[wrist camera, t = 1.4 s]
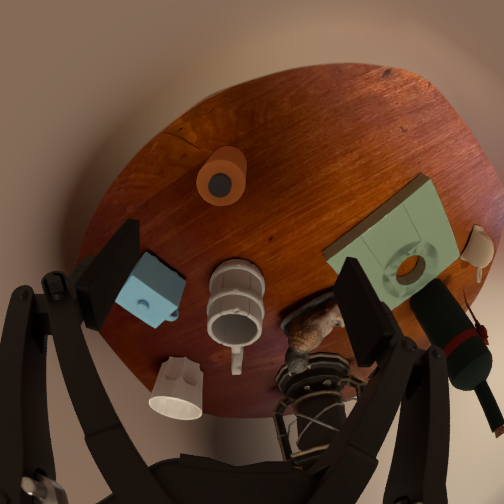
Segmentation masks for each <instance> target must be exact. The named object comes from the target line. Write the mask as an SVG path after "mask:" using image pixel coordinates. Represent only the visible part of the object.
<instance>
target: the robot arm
mask: <svg viewBox="0 0 504 504" xmlns="http://www.w3.org/2000/svg"><path fill="white" fill-rule="evenodd" d="M139 259H140V245H139V220H135V219H127V220H126V222H125V223H124V224H123V225H122V226H121V227H120V228H119V229H118V231H117V232H116V233H115V234H114V235H113V236H112V238H111V239H110V240H109V241H108V242H107V243H106V245H105V246H104V247H103V248H102V249H101V251H100V252H99V253H98V254H97V256H94V255H88V256H87V257H85V258H84V259H82V260H81V262H80V263H79V264H78V266H76V268H75V269H74V271H72V273H71V274H70V275H69V277H68V278H67V276H66V275H65V273H63V272H61V271H53V272H50V273H48V274H46V275H45V276H44V277H43V278H42V281H41V284H42V288H43V291H44V294H34V291H33V289H32V287H30V286H28V285H23V286H20V287H18V288H16V289H15V290H14V291H13V293H12V295H11V299H10V302H9V306H8V310H7V314H6V318H5V323H4V327H3V333H2V337H1V342H0V504H68V499H67V495H66V493H65V490H64V489H63V488H62V486H61V485H60V484H58V483H57V482H56V472H55V464H54V457H53V452H52V445H51V438H50V431H49V422H48V410H47V391H46V355H47V337H48V335H53V340H54V344H55V348H56V352H57V356H58V360H59V364H60V367H61V371H62V374H63V377H64V381H65V384H66V387H67V390H68V393H69V396H70V398H71V401H72V404H73V407H74V409H75V412H76V415H77V417H78V419H79V422H80V424H81V427H82V429H83V431H84V434H85V441H86V444H87V446H88V449H89V451H90V452H91V455H92V457H93V459H94V461H95V463H96V464H97V466H98V468H99V470H100V472H101V473H102V475H103V477H104V479H105V480H106V482H107V484H108V485H109V487H110V489H111V491H112V492H113V493H112V494H110V495H109V496H107V497H106V498H104V499H103V500H101V501H100V502H98V503H96V504H355V503H356V502H357V500H358V499H359V497H360V495H361V494H362V492H363V490H364V489H365V487H366V485H367V484H368V482H369V480H370V479H371V477H372V475H373V473H374V471H375V469H376V467H377V465H378V460H377V459H376V456H377V453H378V452H379V450H380V448H381V446H382V443H383V442H384V440H385V437H386V435H387V433H388V431H389V429H390V426H391V424H392V422H393V420H394V417H395V415H396V413H397V410H398V407H399V405H400V403H401V408H400V416H399V424H398V431H397V437H396V442H395V448H394V453H393V458H392V463H391V468H390V471H389V476H388V480H387V484H386V487H385V492H384V497H383V504H448V499H447V490H446V477H447V469H448V468H447V467H448V457H449V441H450V403H449V402H450V401H449V383H448V371H447V362H446V356H445V353H444V352H443V350H442V349H441V348H440V347H438V346H435V345H431V346H430V347H429V348H428V349H427V351H425V350H422V349H419V348H418V347H417V345H416V343H415V342H414V341H413V340H412V339H411V338H409V337H407V336H404V335H403V333H402V331H401V329H400V327H399V325H398V323H397V321H396V320H395V317H394V315H393V313H392V311H391V309H390V308H389V307H388V305H387V304H386V303H385V302H383V301H380V299H379V297H378V296H377V294H376V292H375V290H374V288H373V286H372V284H371V283H370V281H369V279H368V277H367V275H366V274H365V272H364V270H363V268H362V266H361V265H360V263H359V261H358V259H357V258H353V257H348V256H347V257H346V259H345V262H344V264H343V266H342V269H341V271H340V273H339V275H338V278H337V280H336V282H335V284H334V287H333V289H332V291H333V293H334V296H335V299H336V302H337V304H338V307H339V310H340V313H341V316H342V319H343V322H344V325H345V327H346V330H347V333H348V336H349V339H350V342H351V346H352V349H353V352H354V355H355V358H356V361H357V365H358V367H371V365H372V364H373V363H374V362H375V360H376V362H377V365H378V366H377V367H376V368H375V370H374V371H373V372H372V373H371V374H370V376H369V377H368V378H370V379H369V381H368V383H367V385H366V387H365V388H364V390H363V392H362V394H361V396H360V397H359V399H358V401H357V403H356V404H355V406H354V408H353V409H352V411H351V413H350V414H349V416H348V418H347V419H346V421H345V422H344V424H343V425H342V427H341V428H340V430H339V431H338V433H337V434H336V436H335V437H334V439H333V440H332V442H331V443H330V445H329V446H328V447H327V449H326V450H325V452H324V453H323V454H322V456H321V457H320V458H319V460H318V461H317V462H316V463H315V464H314V465H313V466H312V467H311V468H310V469H309V470H308V471H307V472H306V471H304V470H302V469H299V468H296V467H292V461H276V462H274V461H272V462H271V461H265V462H261V463H256V464H250V465H245V466H233V465H230V464H226V463H223V462H220V461H217V460H214V459H211V458H208V457H201V456H194V455H187V454H180V458H172V459H166V460H163V461H160V462H157V463H155V464H153V465H151V466H149V467H148V466H147V465H146V463H145V461H144V460H143V458H142V457H141V455H140V454H139V452H138V451H137V449H136V447H135V446H134V444H133V442H132V441H131V439H130V437H129V435H128V434H127V432H126V430H125V428H124V427H123V425H122V423H121V421H120V419H119V417H118V416H117V413H116V412H115V409H114V408H113V406H112V403H111V402H110V399H109V397H108V395H107V393H106V391H105V388H104V386H103V384H102V382H101V379H100V377H99V375H98V372H97V370H96V367H95V365H94V363H93V360H92V357H91V355H90V352H89V349H88V347H87V344H86V341H85V338H84V335H83V333H82V329H81V326H80V325H81V324H82V322H83V320H84V322H85V325H86V328H89V329H92V330H96V331H100V329H101V327H102V325H103V323H104V321H105V319H106V317H107V315H108V313H109V312H110V310H111V308H112V306H113V304H114V302H115V300H116V299H117V297H118V295H119V293H120V291H121V290H122V288H123V286H124V284H125V282H126V281H127V279H128V277H129V276H130V274H131V272H132V270H133V269H134V267H135V265H136V264H137V262H138V260H139Z"/></svg>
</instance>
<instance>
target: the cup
mask: <svg viewBox="0 0 504 504" xmlns="http://www.w3.org/2000/svg"><path fill="white" fill-rule="evenodd" d="M199 366H200V364H198V363H195V362H193V361H191V360H189V359H187V358H186V357H183V358H175V357H171V356H170V357H169V360H167V361H166V362H163V363H162V365H161V368H160V371H159V374H158V377H157V380H156V383H155V385H154V388H153V391H152V394H151V396H150V399H149V405H150V407H151V408H152V409H154V410H155V411H156V412H158V413H160V414H162V415H165V416H167V417H171V418H175V419H181V420H192V419H197V418H199V417H200V416H201V415H202V385H203V372H202V371H200V368H199Z"/></svg>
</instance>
